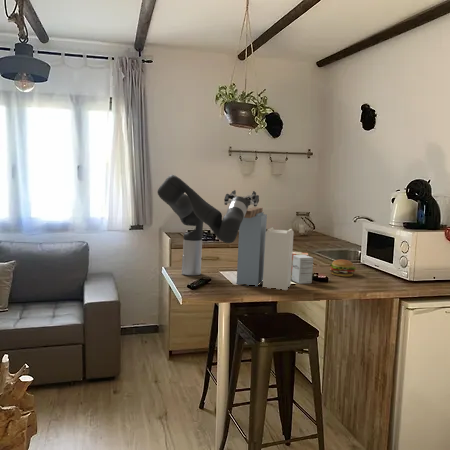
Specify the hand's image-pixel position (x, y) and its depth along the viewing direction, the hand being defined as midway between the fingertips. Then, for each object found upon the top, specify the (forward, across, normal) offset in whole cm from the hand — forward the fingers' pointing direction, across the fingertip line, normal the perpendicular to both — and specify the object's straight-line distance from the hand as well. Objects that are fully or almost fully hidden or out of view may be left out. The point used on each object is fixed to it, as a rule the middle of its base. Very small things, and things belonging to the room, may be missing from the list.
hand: (244, 192), depth 208 cm
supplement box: (+6, +26, -49) cm, 56 cm away
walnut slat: (+4, +2, -13) cm, 14 cm away
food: (+30, +46, -60) cm, 81 cm away
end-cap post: (-7, +15, -44) cm, 47 cm away
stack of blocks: (+16, +17, -53) cm, 58 cm away
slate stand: (-4, +2, -45) cm, 45 cm away
